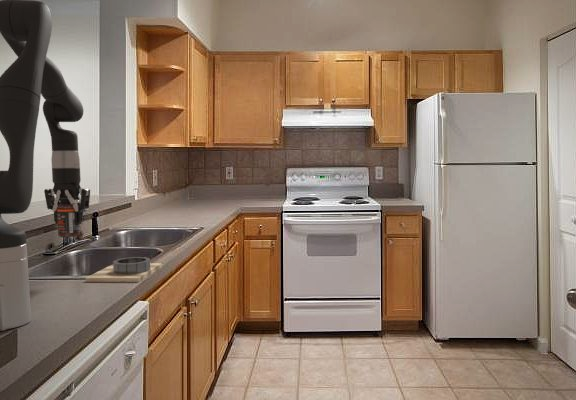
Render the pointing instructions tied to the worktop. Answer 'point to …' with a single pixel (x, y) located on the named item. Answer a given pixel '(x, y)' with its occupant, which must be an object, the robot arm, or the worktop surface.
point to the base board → (121, 275)
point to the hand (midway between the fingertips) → (68, 223)
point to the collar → (131, 265)
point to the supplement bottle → (67, 219)
